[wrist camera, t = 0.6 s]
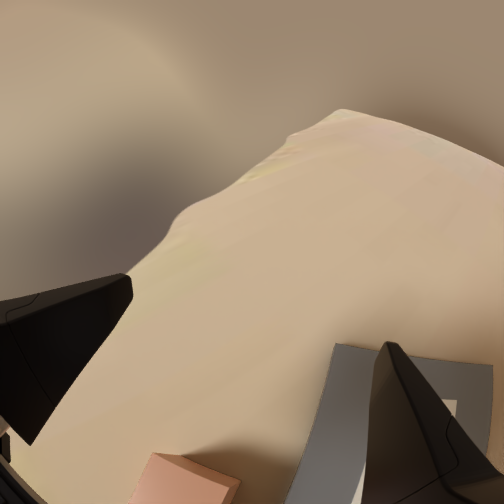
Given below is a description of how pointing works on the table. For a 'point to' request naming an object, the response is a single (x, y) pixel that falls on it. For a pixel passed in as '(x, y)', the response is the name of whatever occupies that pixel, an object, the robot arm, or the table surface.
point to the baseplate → (357, 416)
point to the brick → (182, 483)
